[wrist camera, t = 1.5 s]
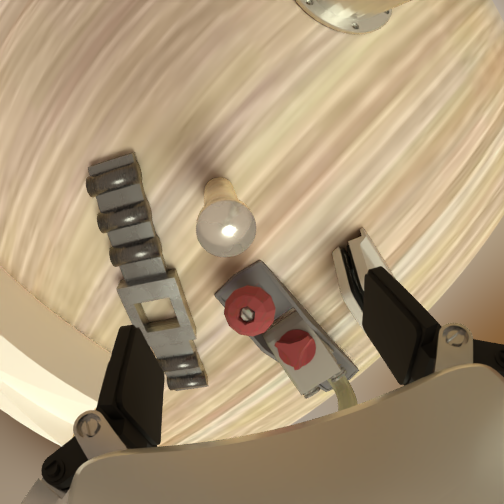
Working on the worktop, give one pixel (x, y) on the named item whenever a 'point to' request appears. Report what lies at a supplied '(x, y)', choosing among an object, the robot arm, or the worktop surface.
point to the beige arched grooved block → (356, 271)
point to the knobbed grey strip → (145, 269)
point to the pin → (224, 220)
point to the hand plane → (287, 333)
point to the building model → (45, 365)
